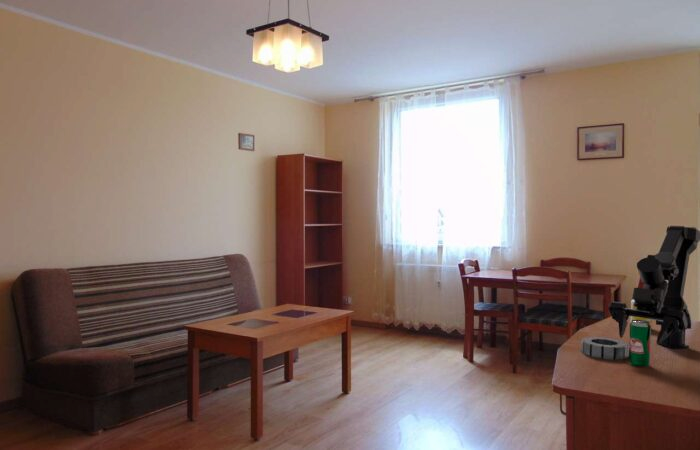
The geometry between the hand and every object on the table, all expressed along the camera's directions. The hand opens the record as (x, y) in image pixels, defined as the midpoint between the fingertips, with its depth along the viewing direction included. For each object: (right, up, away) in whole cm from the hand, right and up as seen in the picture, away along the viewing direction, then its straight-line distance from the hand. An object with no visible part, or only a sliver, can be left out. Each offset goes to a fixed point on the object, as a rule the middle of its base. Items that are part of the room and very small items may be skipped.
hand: (638, 339), depth 141 cm
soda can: (+1, -7, +1) cm, 7 cm away
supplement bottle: (+27, -6, +47) cm, 54 cm away
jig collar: (-4, -7, +12) cm, 14 cm away
